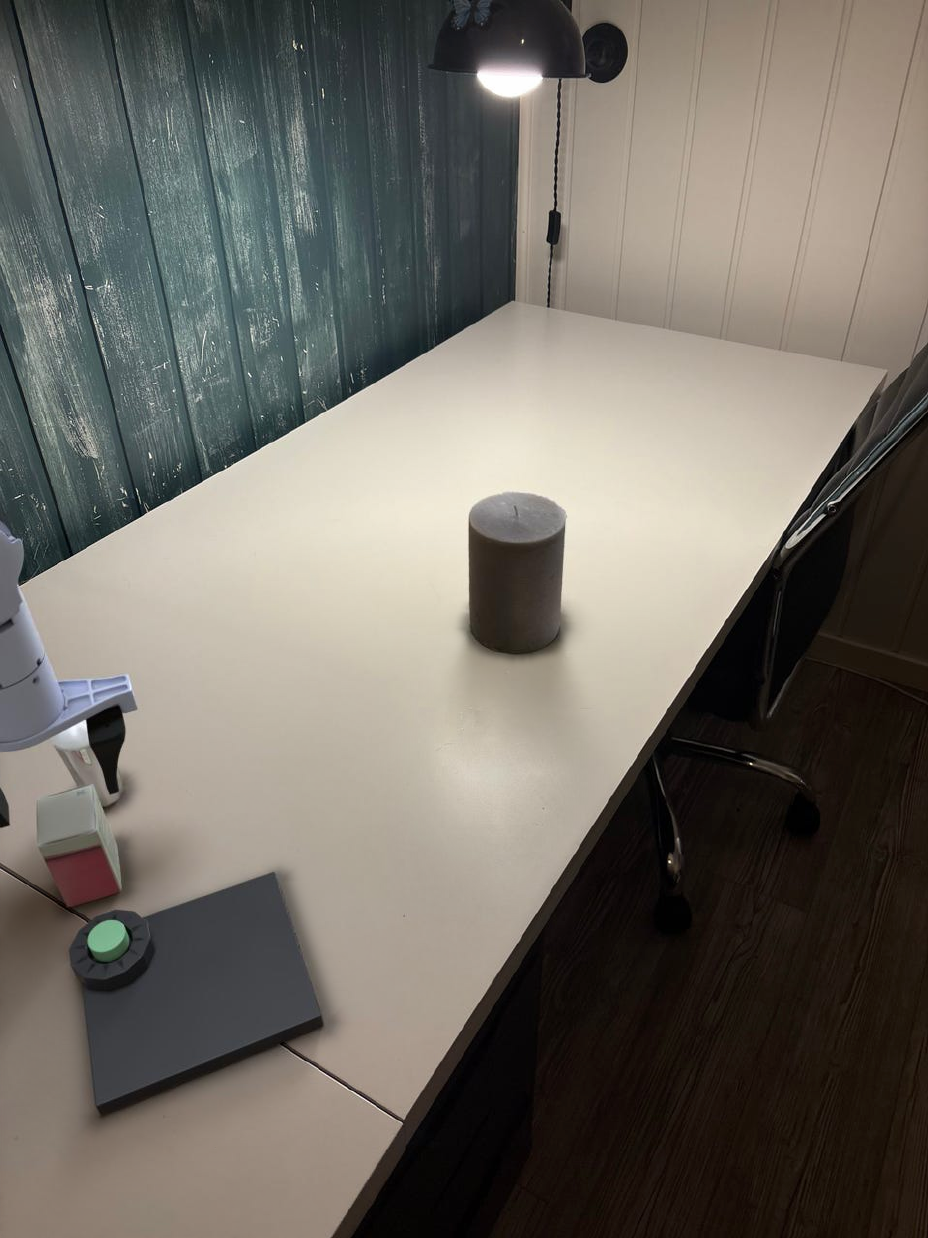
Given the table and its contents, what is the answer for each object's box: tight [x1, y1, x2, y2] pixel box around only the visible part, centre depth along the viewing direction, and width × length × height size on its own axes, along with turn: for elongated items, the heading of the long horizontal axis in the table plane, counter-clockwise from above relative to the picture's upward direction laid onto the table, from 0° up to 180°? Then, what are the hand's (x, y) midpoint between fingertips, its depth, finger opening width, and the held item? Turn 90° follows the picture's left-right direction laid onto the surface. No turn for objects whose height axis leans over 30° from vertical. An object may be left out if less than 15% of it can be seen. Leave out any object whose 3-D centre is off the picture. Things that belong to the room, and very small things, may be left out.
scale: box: [68, 871, 324, 1116], centre depth 65 cm, size 15×13×3 cm
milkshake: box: [49, 720, 124, 808], centre depth 78 cm, size 5×5×10 cm
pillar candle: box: [467, 490, 568, 654], centre depth 94 cm, size 10×10×15 cm
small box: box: [35, 784, 123, 908], centre depth 71 cm, size 5×4×8 cm
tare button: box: [88, 920, 130, 962], centre depth 66 cm, size 3×3×1 cm
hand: (59, 800), depth 68 cm, fingers open, 7 cm apart
